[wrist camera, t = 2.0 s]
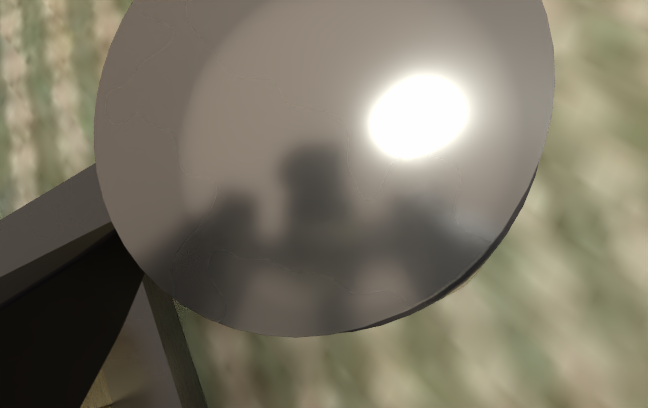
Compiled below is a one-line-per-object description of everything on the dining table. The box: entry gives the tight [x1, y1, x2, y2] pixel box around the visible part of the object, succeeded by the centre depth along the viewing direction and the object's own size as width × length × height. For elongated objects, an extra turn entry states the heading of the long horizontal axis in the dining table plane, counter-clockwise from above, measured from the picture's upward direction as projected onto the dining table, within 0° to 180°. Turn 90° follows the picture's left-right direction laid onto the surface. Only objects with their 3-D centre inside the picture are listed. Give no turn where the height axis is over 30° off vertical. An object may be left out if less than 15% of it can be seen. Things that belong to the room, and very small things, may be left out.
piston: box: [94, 0, 555, 337], centre depth 11 cm, size 5×5×12 cm
